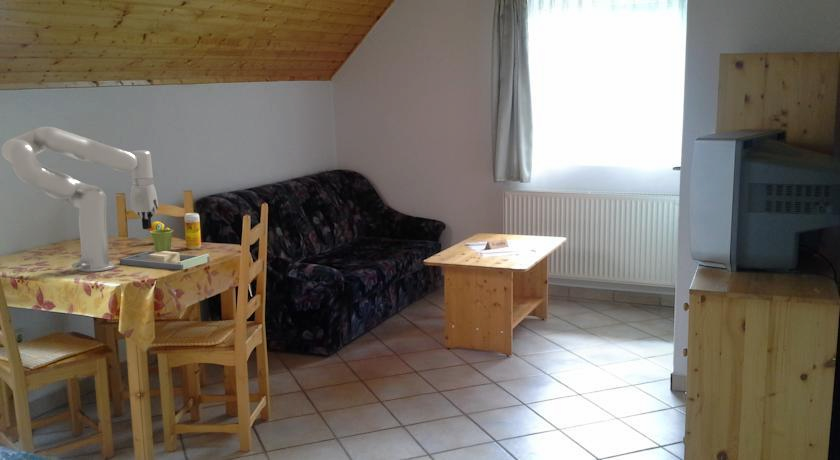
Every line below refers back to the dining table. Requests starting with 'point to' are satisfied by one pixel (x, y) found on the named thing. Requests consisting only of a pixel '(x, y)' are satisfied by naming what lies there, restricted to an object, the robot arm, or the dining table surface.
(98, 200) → the robot arm
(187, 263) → the grey shallow tray
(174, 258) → the birch block
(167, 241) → the plant pot
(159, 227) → the duckling
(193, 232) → the beer can
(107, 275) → the dining table surface
